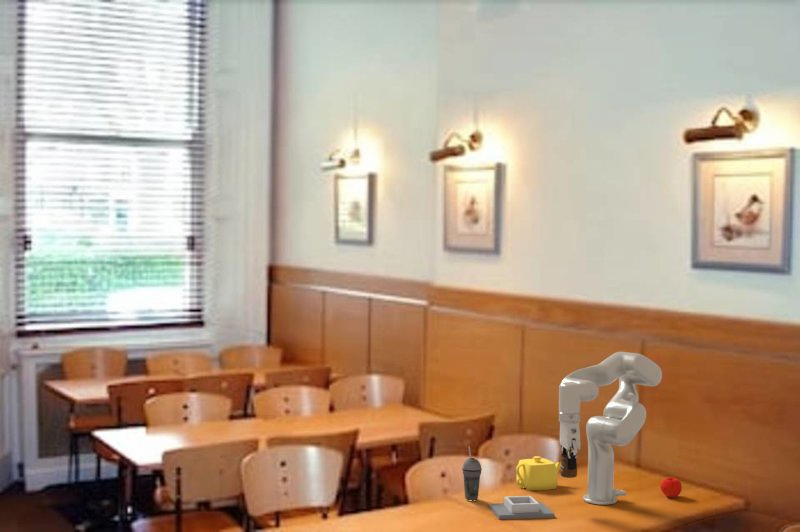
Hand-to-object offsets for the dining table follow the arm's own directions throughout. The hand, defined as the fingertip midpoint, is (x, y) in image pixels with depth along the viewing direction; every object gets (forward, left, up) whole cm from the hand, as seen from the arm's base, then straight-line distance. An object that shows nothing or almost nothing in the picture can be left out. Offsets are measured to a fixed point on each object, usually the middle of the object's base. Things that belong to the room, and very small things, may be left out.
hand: (568, 466), depth 348 cm
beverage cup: (+31, -18, -17) cm, 40 cm away
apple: (-46, -14, -17) cm, 50 cm away
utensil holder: (0, 0, -4) cm, 4 cm away
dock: (+17, 0, -16) cm, 24 cm away
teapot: (0, -34, -17) cm, 38 cm away
